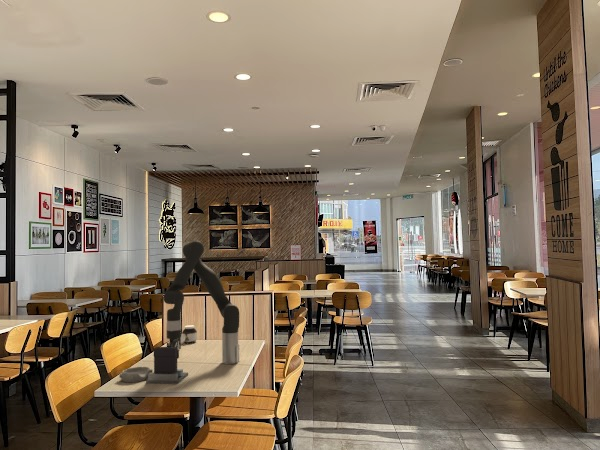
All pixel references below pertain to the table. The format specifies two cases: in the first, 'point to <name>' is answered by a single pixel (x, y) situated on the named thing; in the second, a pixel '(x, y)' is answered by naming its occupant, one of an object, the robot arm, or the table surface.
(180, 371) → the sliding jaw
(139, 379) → the dish
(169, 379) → the vise
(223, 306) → the robot arm
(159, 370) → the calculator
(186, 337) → the spread jar
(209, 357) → the table surface
